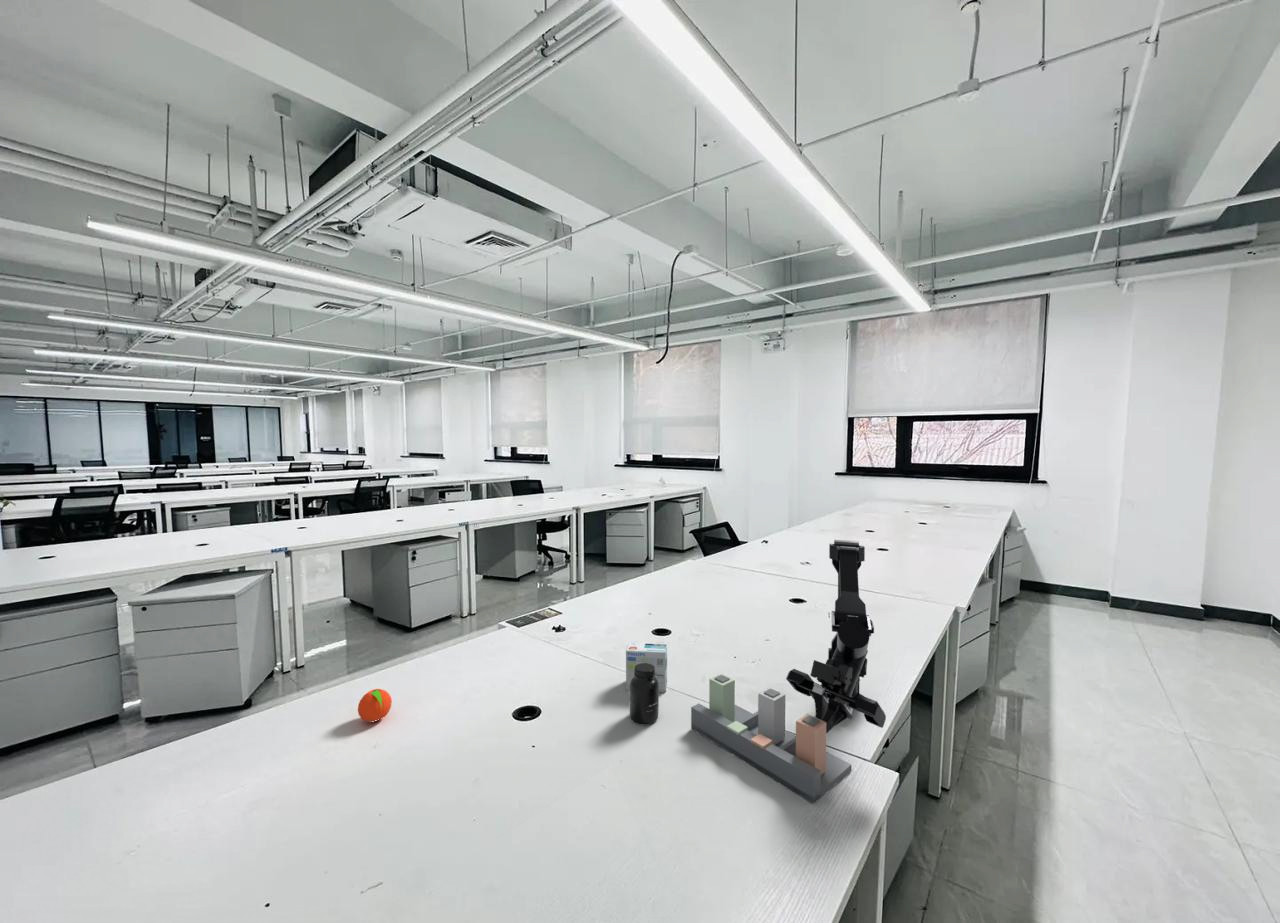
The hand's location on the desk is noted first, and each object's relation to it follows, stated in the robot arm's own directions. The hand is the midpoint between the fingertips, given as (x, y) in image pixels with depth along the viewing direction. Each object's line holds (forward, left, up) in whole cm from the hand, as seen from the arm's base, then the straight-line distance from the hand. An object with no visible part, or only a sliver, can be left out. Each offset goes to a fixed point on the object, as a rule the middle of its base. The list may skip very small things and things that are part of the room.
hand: (817, 736), depth 94 cm
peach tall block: (+2, +1, -6) cm, 6 cm away
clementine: (+84, -50, -7) cm, 98 cm away
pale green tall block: (+10, -20, -6) cm, 23 cm away
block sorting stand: (+5, -10, -7) cm, 13 cm away
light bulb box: (+19, -44, -7) cm, 48 cm away
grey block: (+3, -11, -6) cm, 12 cm away
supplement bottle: (+25, -30, -7) cm, 39 cm away
